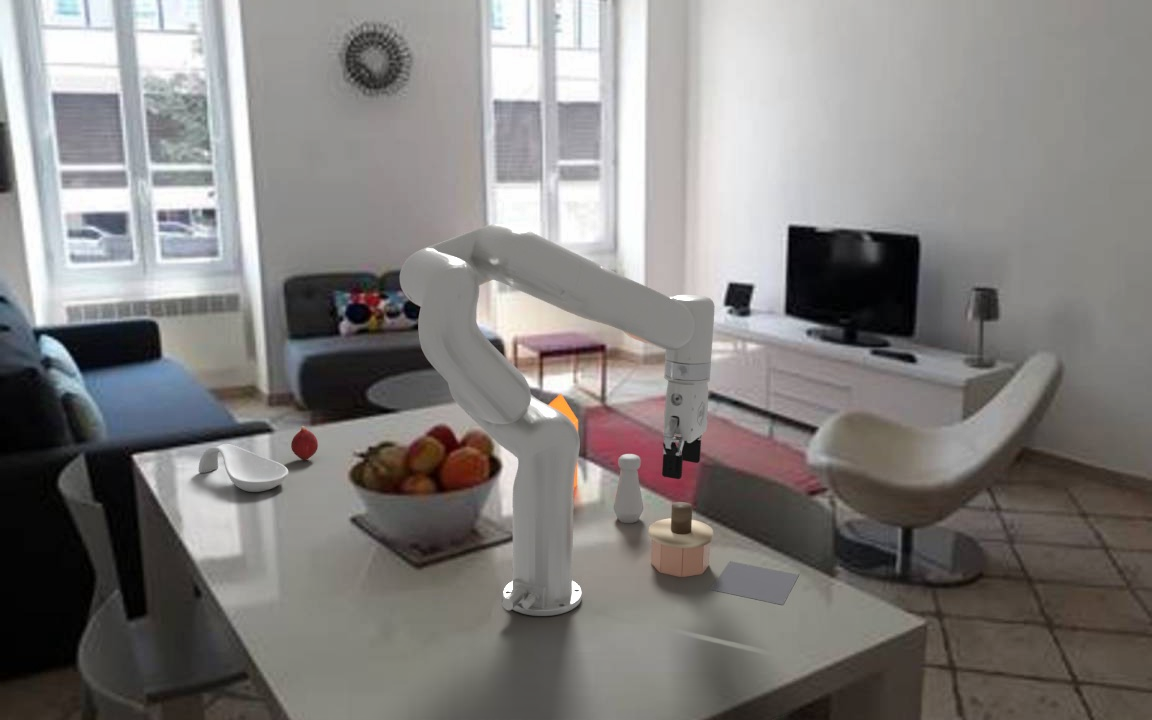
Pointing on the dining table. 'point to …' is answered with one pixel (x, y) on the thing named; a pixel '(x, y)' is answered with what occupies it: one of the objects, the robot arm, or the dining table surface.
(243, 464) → the spoon rest
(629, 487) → the salt shaker
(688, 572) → the bowl
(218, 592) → the dining table surface
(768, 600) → the mat
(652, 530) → the lid
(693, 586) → the dining table surface
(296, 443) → the onion
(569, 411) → the orange juice
